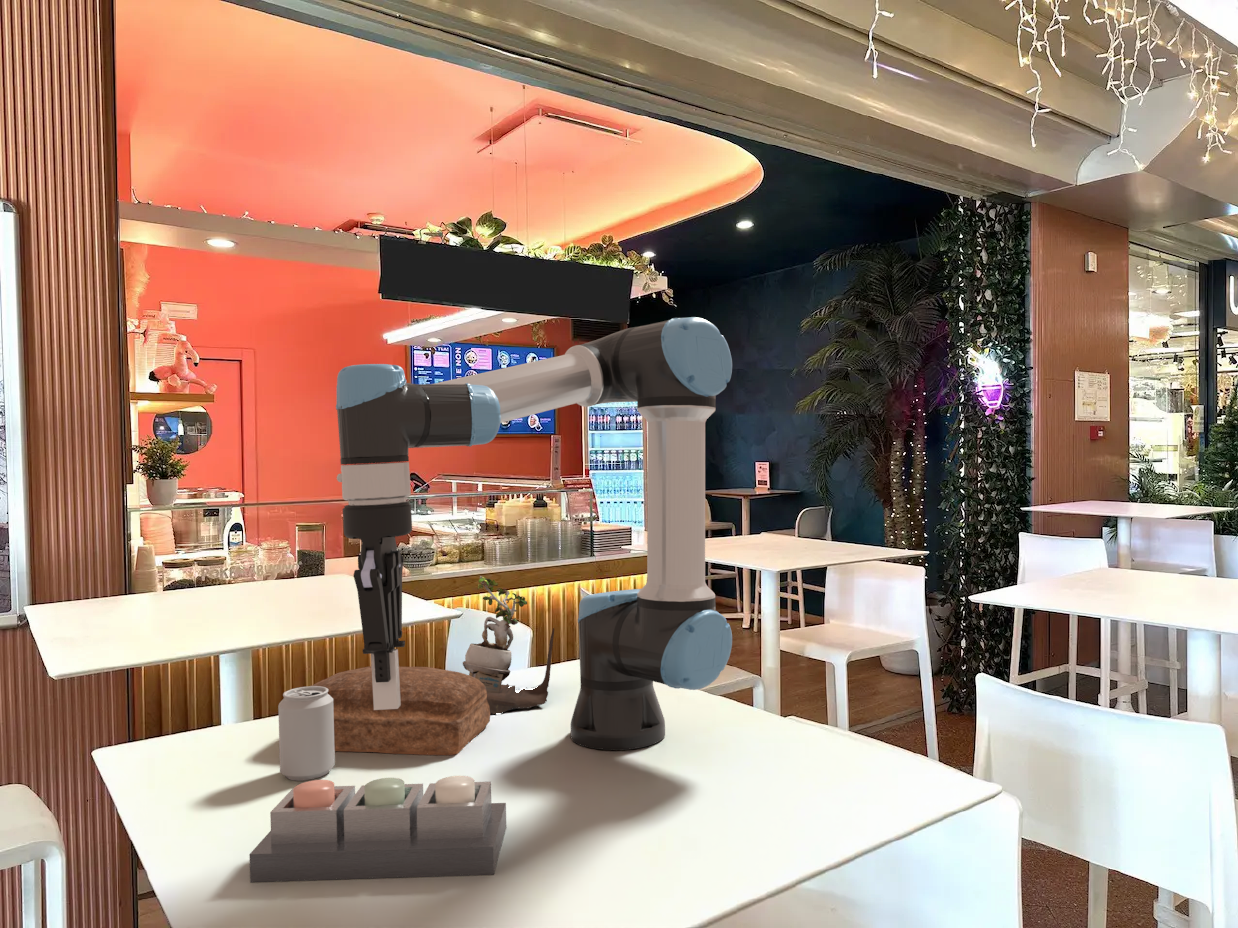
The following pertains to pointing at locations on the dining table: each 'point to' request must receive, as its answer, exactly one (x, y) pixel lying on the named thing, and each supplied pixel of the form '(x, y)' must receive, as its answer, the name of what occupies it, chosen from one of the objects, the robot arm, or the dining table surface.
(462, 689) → the bread
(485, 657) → the potted plant
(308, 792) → the button coral
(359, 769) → the dining table surface
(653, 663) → the robot arm
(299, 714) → the can
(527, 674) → the dining table surface
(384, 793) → the button sage
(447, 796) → the button ivory
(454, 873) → the console
